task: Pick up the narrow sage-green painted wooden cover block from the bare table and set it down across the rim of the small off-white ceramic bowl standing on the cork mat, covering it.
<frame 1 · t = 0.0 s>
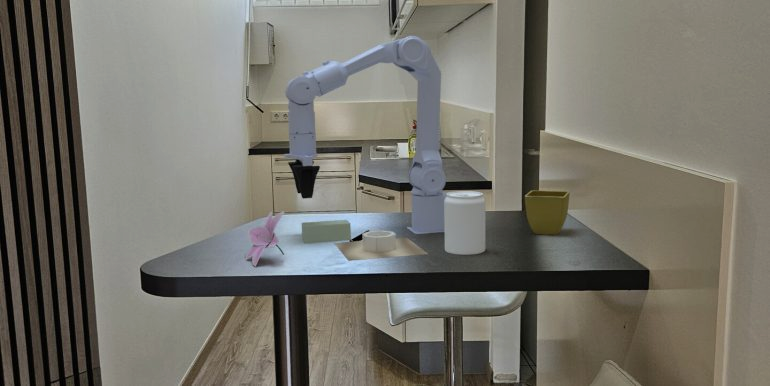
hand: (304, 195, 154), 10 cm above the table, fingers open, 7 cm apart
lily: (266, 261, 139), on the table
lid: (326, 243, 153), on the table
mat: (379, 251, 144), on the table
flower pot: (546, 233, 158), on the table
bowl: (379, 248, 144), resting on mat
beverage can: (465, 253, 141), on the table
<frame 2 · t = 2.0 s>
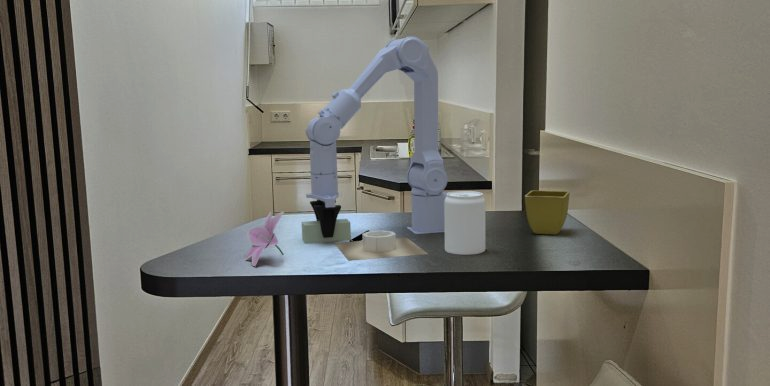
hand: (326, 234, 153), 2 cm above the table, fingers closed on lid, 4 cm apart
lid: (326, 242, 153), on the table, touching gripper
everything else where it was.
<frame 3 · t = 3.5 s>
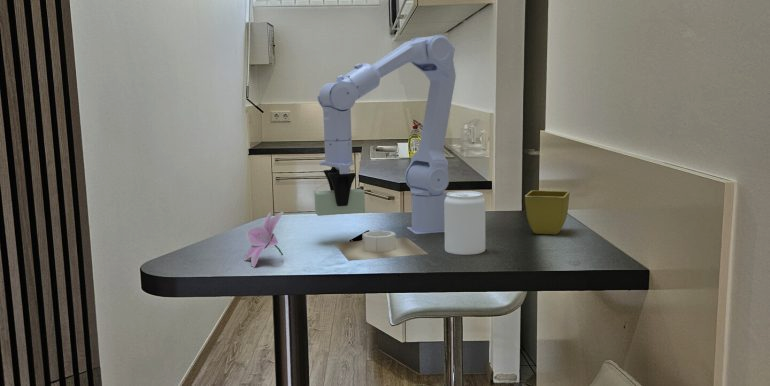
hand: (340, 204, 149), 9 cm above the table, fingers closed on lid, 4 cm apart
lid: (339, 212, 150), point 7 cm above the table, touching gripper
everything else where it was.
when the fingers open (6 cm above the table, at t = 5.0 s): lid stays where it is, resting on bowl.
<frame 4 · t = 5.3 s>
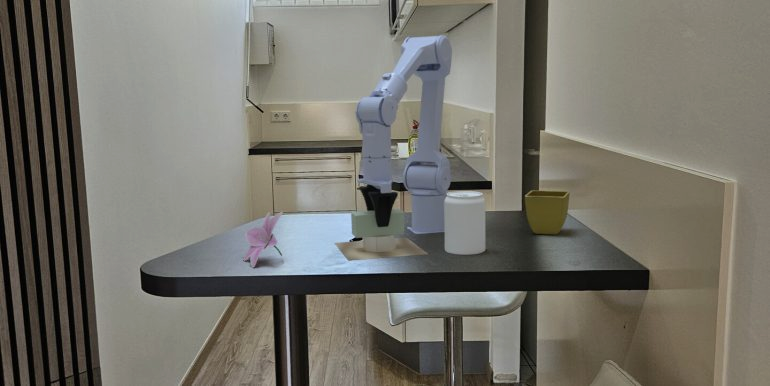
hand: (378, 223, 143), 6 cm above the table, fingers open, 7 cm apart
lid: (378, 234, 143), point 4 cm above the table, touching bowl
everything else where it was.
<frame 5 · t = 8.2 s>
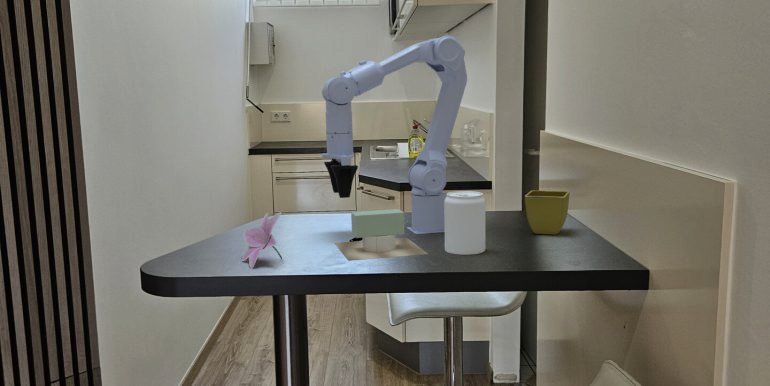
hand: (341, 194, 155), 10 cm above the table, fingers open, 7 cm apart
at the end: lid 0.2 cm off-centre on the bowl, point 3.0 cm above the bowl's base; lid touching bowl; the gripper is holding nothing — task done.
